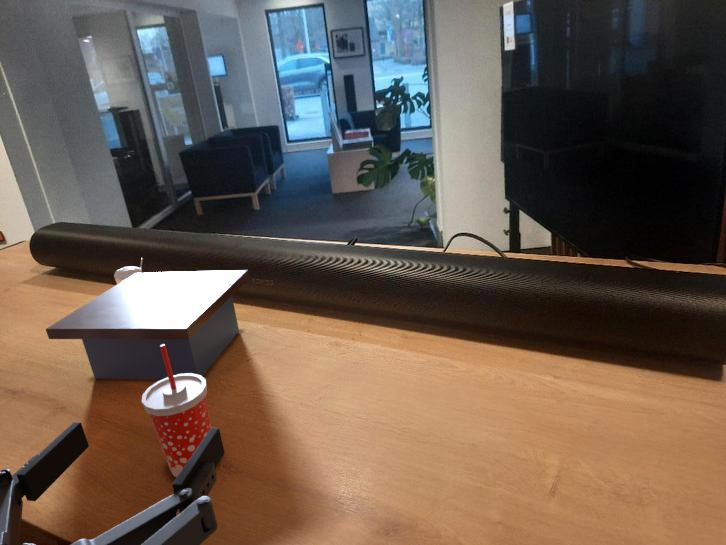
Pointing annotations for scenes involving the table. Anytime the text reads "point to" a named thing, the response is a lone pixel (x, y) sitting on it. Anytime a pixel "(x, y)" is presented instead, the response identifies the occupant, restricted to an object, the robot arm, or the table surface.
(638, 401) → the table surface
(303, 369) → the table surface
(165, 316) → the board
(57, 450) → the robot arm
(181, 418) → the beverage cup
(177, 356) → the blue box
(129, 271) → the milkshake
